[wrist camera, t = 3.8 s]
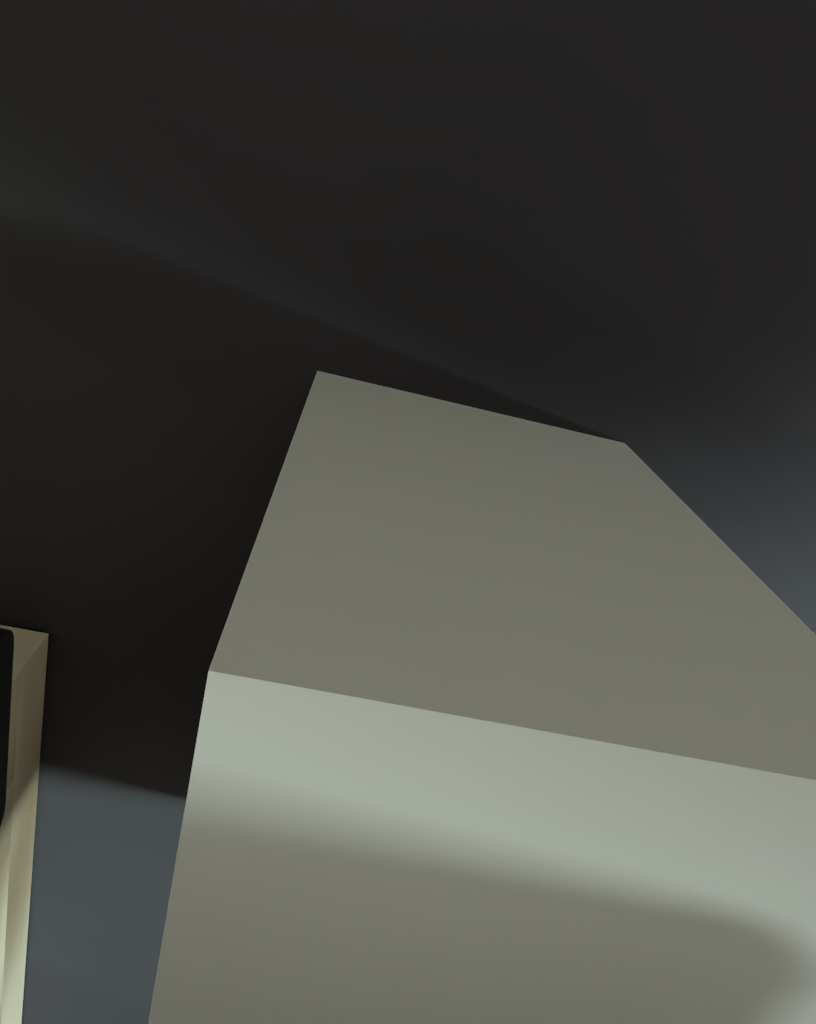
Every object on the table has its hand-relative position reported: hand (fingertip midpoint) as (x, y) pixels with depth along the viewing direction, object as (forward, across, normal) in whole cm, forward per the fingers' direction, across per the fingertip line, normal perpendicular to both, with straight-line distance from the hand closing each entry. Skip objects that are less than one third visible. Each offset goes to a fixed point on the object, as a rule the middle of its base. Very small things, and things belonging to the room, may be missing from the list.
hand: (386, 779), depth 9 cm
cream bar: (+3, 0, 0) cm, 3 cm away
